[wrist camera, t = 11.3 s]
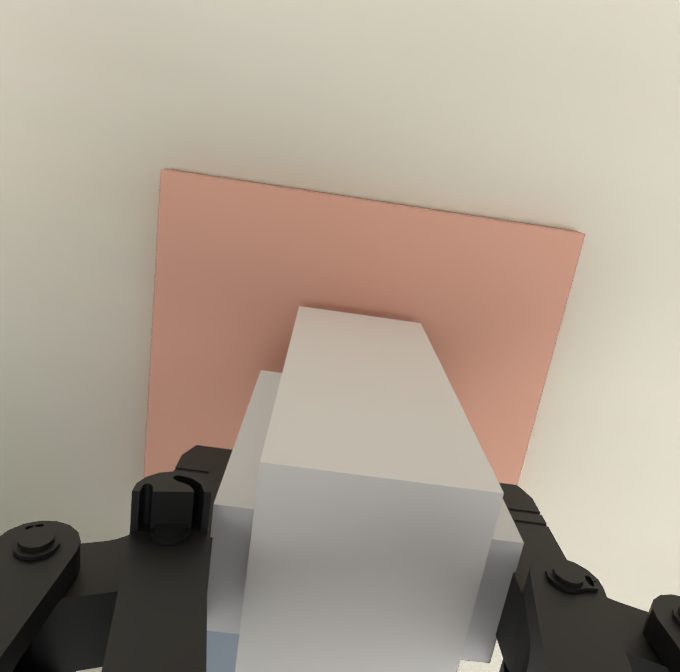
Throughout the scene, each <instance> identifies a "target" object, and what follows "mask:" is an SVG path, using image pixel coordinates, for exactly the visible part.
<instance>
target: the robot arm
mask: <svg viewBox="0 0 680 672" xmlns="http://www.w3.org/2000/svg"><path fill="white" fill-rule="evenodd" d="M281 376H282V373H279V372H272V371H264V370H261V371H260V374H259V377H258V379H257V382H256V385H255V388H254V391H253V394H252V396H251V399H250V402H249V405H248V408H247V411H246V413H245V416H244V419H243V422H242V425H241V428H240V430H239V433H238V436H237V439H236V442H235V445H234V447H233V450H232V449H224V448H216V447H208V446H201V445H196V446H194V447H193V448H191V449H190V450H188V451H187V452H185V453H184V454H182V456H181V457H180V459H179V461H178V463H177V465H176V467H175V470H174V471H172V472H160V473H157V474H153V475H150V476H147V477H145V478H144V479H142V480H141V481H139V482H138V483H137V484H136V485H135V487H134V489H133V491H132V503H131V524H130V535H128V536H125V537H122V538H119V539H116V540H110V541H104V542H94V543H83V544H81V541H80V537H79V534H78V532H77V531H76V530H75V529H74V528H72V527H71V526H70V525H67V524H64V523H61V522H57V521H37V522H32V523H27V524H23V525H20V526H18V527H15V528H13V529H10V530H8V531H7V532H5V533H4V534H3V535H1V536H0V672H76V671H79V670H85V669H91V668H97V667H102V672H206V661H207V631H214V632H223V633H232V634H240V625H241V617H242V608H243V600H244V591H245V583H246V575H247V566H248V558H249V549H250V541H251V533H252V524H253V516H254V507H255V499H256V490H257V482H258V474H259V465H260V460H261V456H262V452H263V448H264V444H265V440H266V436H267V432H268V428H269V424H270V420H271V416H272V412H273V408H274V404H275V400H276V396H277V392H278V388H279V384H280V380H281ZM499 484H500V486H501V488H502V490H503V492H504V495H503V499H502V503H501V506H500V510H499V514H498V518H497V522H496V525H495V529H494V533H493V537H492V541H491V544H490V548H489V552H488V556H487V560H486V563H485V567H484V571H483V575H482V579H481V582H480V586H479V590H478V594H477V598H476V601H475V605H474V609H473V613H472V617H471V620H470V624H469V628H468V632H467V636H466V639H465V643H464V647H463V651H462V655H461V658H460V660H467V661H476V662H484V663H490V661H491V657H492V654H493V650H494V647H495V643H496V640H498V643H499V647H500V650H501V653H502V656H503V661H502V664H501V668H500V671H499V672H680V596H676V595H660V596H658V597H657V598H655V599H654V600H653V602H652V605H651V608H650V610H649V612H646V611H643V610H640V609H637V608H634V607H631V606H628V605H625V604H622V603H619V602H617V601H614V600H612V599H609V598H607V596H606V594H605V591H604V589H603V587H602V585H601V584H600V582H599V580H598V579H597V578H596V577H595V576H593V575H592V574H591V573H590V572H589V571H588V570H586V569H585V568H583V567H581V566H579V565H578V564H576V563H574V562H571V561H568V560H567V559H566V558H565V556H564V554H563V552H562V550H561V549H560V547H559V545H558V543H557V542H556V540H555V538H554V536H553V534H552V533H551V531H550V529H549V527H547V526H546V522H545V520H544V518H543V517H542V515H540V511H539V510H538V508H537V506H536V504H535V503H534V501H533V499H532V498H531V497H530V496H529V495H528V494H527V493H525V492H524V491H523V490H522V489H521V488H520V487H519V486H517V485H513V484H505V483H499Z"/></svg>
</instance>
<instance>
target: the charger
mask: <svg viewBox="0 0 680 672" xmlns="http://www.w3.org/2000/svg"><path fill="white" fill-rule="evenodd" d="M503 495H504V492H503V490H502V488H501V486H500V484H499V482H498V480H497V478H496V476H495V474H494V472H493V470H492V468H491V466H490V464H489V462H488V460H487V458H486V455H485V453H484V451H483V449H482V447H481V445H480V443H479V441H478V439H477V437H476V435H475V433H474V431H473V429H472V427H471V425H470V423H469V421H468V419H467V417H466V415H465V412H464V410H463V408H462V406H461V404H460V402H459V400H458V398H457V396H456V394H455V392H454V390H453V388H452V386H451V384H450V382H449V380H448V378H447V376H446V374H445V372H444V369H443V367H442V365H441V363H440V361H439V359H438V357H437V355H436V353H435V351H434V349H433V347H432V345H431V343H430V341H429V339H428V337H427V335H426V333H425V331H424V329H423V326H422V324H421V323H417V322H410V321H402V320H395V319H388V318H381V317H374V316H367V315H360V314H353V313H346V312H338V311H331V310H324V309H317V308H310V307H303V306H299V308H298V312H297V316H296V320H295V324H294V328H293V332H292V336H291V340H290V344H289V348H288V352H287V356H286V360H285V364H284V368H283V372H282V376H281V380H280V384H279V388H278V392H277V396H276V400H275V404H274V408H273V412H272V416H271V420H270V424H269V428H268V432H267V436H266V440H265V444H264V448H263V452H262V456H261V460H260V465H259V474H258V482H257V490H256V499H255V507H254V516H253V524H252V533H251V541H250V549H249V558H248V566H247V575H246V583H245V591H244V600H243V608H242V617H241V625H240V634H239V642H238V650H237V659H236V667H235V672H457V670H458V666H459V662H460V658H461V655H462V651H463V647H464V643H465V639H466V636H467V632H468V628H469V624H470V620H471V617H472V613H473V609H474V605H475V601H476V598H477V594H478V590H479V586H480V582H481V579H482V575H483V571H484V567H485V563H486V560H487V556H488V552H489V548H490V544H491V541H492V537H493V533H494V529H495V525H496V522H497V518H498V514H499V510H500V506H501V503H502V499H503Z"/></svg>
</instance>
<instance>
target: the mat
mask: <svg viewBox="0 0 680 672" xmlns="http://www.w3.org/2000/svg"><path fill="white" fill-rule="evenodd" d="M584 237H585V234H583V233H580V232H577V231H572V230H565V229H559V228H552V227H546V226H539V225H532V224H526V223H519V222H513V221H506V220H499V219H493V218H486V217H480V216H473V215H467V214H460V213H453V212H447V211H440V210H434V209H427V208H420V207H414V206H407V205H401V204H394V203H388V202H381V201H374V200H368V199H361V198H355V197H348V196H342V195H335V194H328V193H322V192H315V191H309V190H302V189H295V188H289V187H282V186H276V185H269V184H263V183H256V182H249V181H243V180H236V179H230V178H223V177H216V176H210V175H203V174H197V173H190V172H184V171H177V170H170V169H163V170H161V176H160V194H159V212H158V230H157V248H156V266H155V285H154V303H153V321H152V339H151V357H150V375H149V393H148V411H147V429H146V447H145V465H144V478H145V477H147V476H150V475H153V474H157V473H160V472H172V471H174V470H175V467H176V465H177V463H178V461H179V459H180V457H181V456H182V454H184V453H185V452H187V451H188V450H190V449H191V448H193V447H194V446H196V445H201V446H208V447H216V448H224V449H232V450H233V447H234V445H235V442H236V439H237V436H238V433H239V430H240V428H241V425H242V422H243V419H244V416H245V413H246V411H247V408H248V405H249V402H250V399H251V396H252V394H253V391H254V388H255V385H256V382H257V379H258V377H259V374H260V371H261V370H264V371H272V372H279V373H282V372H283V368H284V364H285V360H286V356H287V352H288V348H289V344H290V340H291V336H292V332H293V328H294V324H295V320H296V316H297V312H298V308H299V306H303V307H310V308H317V309H324V310H331V311H338V312H346V313H353V314H360V315H367V316H374V317H381V318H388V319H395V320H402V321H410V322H417V323H421V324H422V326H423V329H424V331H425V333H426V335H427V337H428V339H429V341H430V343H431V345H432V347H433V349H434V351H435V353H436V355H437V357H438V359H439V361H440V363H441V365H442V367H443V369H444V372H445V374H446V376H447V378H448V380H449V382H450V384H451V386H452V388H453V390H454V392H455V394H456V396H457V398H458V400H459V402H460V404H461V406H462V408H463V410H464V412H465V415H466V417H467V419H468V421H469V423H470V425H471V427H472V429H473V431H474V433H475V435H476V437H477V439H478V441H479V443H480V445H481V447H482V449H483V451H484V453H485V455H486V458H487V460H488V462H489V464H490V466H491V468H492V470H493V472H494V474H495V476H496V478H497V480H498V482H499V483H505V484H513V485H517V484H518V480H519V476H520V473H521V469H522V465H523V462H524V458H525V454H526V451H527V447H528V443H529V440H530V436H531V432H532V428H533V425H534V421H535V417H536V414H537V410H538V406H539V403H540V399H541V395H542V392H543V388H544V384H545V380H546V377H547V373H548V369H549V366H550V362H551V358H552V355H553V351H554V347H555V344H556V340H557V336H558V332H559V329H560V325H561V321H562V318H563V314H564V310H565V307H566V303H567V299H568V296H569V292H570V288H571V284H572V281H573V277H574V273H575V270H576V266H577V262H578V259H579V255H580V251H581V248H582V244H583V240H584Z"/></svg>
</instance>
